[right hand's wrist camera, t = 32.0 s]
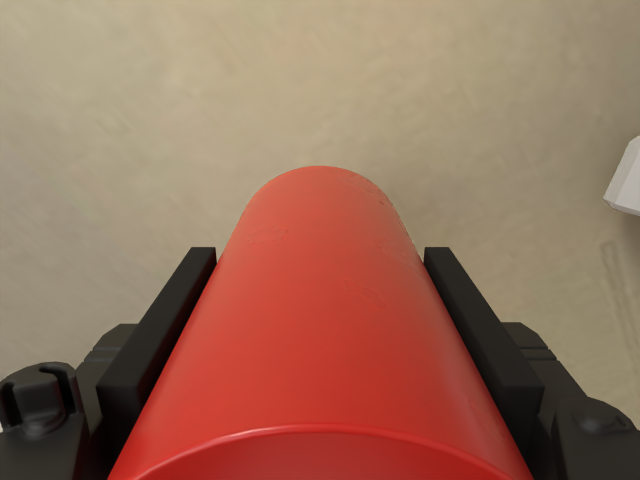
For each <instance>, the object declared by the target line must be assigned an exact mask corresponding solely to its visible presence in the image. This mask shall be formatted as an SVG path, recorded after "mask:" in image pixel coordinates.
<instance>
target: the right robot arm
mask: <svg viewBox="0 0 640 480" xmlns="http://www.w3.org/2000/svg"><path fill="white" fill-rule="evenodd" d="M423 264H424V266H425V268H426V270H427V272H428V274H429V276H430V278H431V280H432V282H433V283H434V285H435V287H436V289H437V291H438V293H439V295H440V297H441V299H442V301H443V303H444V305H445V307H446V309H447V311H448V313H449V315H450V317H451V319H452V321H453V322H454V324H455V326H456V328H457V330H458V332H459V334H460V336H461V338H462V340H463V342H464V344H465V346H466V348H467V350H468V352H469V354H470V356H471V358H472V359H473V361H474V363H475V365H476V367H477V369H478V371H479V373H480V375H481V377H482V379H483V381H484V383H485V385H486V387H487V389H488V391H489V393H490V395H491V396H492V398H493V400H494V402H495V404H496V406H497V408H498V410H499V412H500V414H501V416H502V418H503V420H504V422H505V424H506V426H507V428H508V430H509V432H510V434H511V435H512V437H513V439H514V441H515V443H516V445H517V447H518V449H519V451H520V453H521V455H522V457H523V459H524V461H525V463H526V465H527V467H528V469H529V471H530V472H531V474H532V476H533V478H534V480H640V430H637V429H636V427H635V426H634V424H633V423H632V421H631V420H630V419H629V418H628V417H627V416H626V415H624V414H623V413H622V412H621V411H620V410H618V409H617V408H615V407H613V406H611V405H609V404H607V403H605V402H603V401H600V400H597V399H593V398H590V397H588V396H587V395H586V394H585V393H584V391H583V390H582V389H581V388H580V386H579V385H578V384H577V383H576V381H575V380H574V379H573V378H572V376H571V375H570V374H569V373H568V371H567V370H566V369H565V368H564V366H563V365H562V364H561V363H560V361H557V358H556V356H555V355H554V354H553V353H552V351H551V350H550V349H548V346H547V345H546V344H545V343H544V341H543V340H542V339H541V338H540V336H539V335H538V334H537V333H535V332H534V331H532V330H531V329H529V328H528V327H526V326H525V325H523V324H522V323H520V322H500V320H499V319H498V318H497V316H496V315H495V313H494V312H493V310H492V309H491V307H490V306H489V305H488V303H487V302H486V300H485V299H484V297H483V296H482V294H481V293H480V292H479V290H478V289H477V287H476V286H475V284H474V283H473V282H472V280H471V279H470V277H469V276H468V274H467V273H466V271H465V270H464V269H463V267H462V266H461V264H460V263H459V261H458V260H457V258H456V257H455V256H454V254H453V253H452V251H451V250H450V248H449V247H425V252H424V263H423ZM216 265H217V260H216V249H215V247H191V249H190V250H189V252H188V253H187V255H186V256H185V257H184V259H183V260H182V262H181V263H180V265H179V266H178V268H177V269H176V270H175V272H174V273H173V275H172V276H171V278H170V279H169V280H168V282H167V283H166V285H165V286H164V288H163V289H162V291H161V292H160V293H159V295H158V296H157V298H156V299H155V301H154V302H153V304H152V305H151V306H150V308H149V309H148V311H147V312H146V314H145V315H144V317H143V318H142V319H141V321H140V322H139V324H119V325H118V326H116V327H115V328H113V329H112V330H110V331H109V332H107V333H106V334H104V335H103V336H102V337H101V339H100V340H99V341H98V342H97V344H96V345H95V346H94V347H93V351H90V352H89V354H88V355H87V356H86V358H85V359H84V362H82V363H81V364H80V365H79V366H78V368H77V369H76V370H75V369H74V368H73V367H71V366H70V365H69V364H67V363H61V362H46V363H39V364H36V365H32V366H29V367H25V368H23V369H21V370H19V371H17V372H15V373H13V374H11V375H9V376H8V377H6V378H5V379H4V380H2V381H1V382H0V423H1V426H2V429H3V431H2V432H0V480H107V478H108V476H109V475H110V473H111V471H112V469H113V467H114V465H115V463H116V461H117V459H118V457H119V455H120V453H121V451H122V449H123V447H124V445H125V443H126V441H127V439H128V437H129V435H130V433H131V431H132V429H133V427H134V426H135V424H136V422H137V420H138V418H139V416H140V414H141V412H142V410H143V408H144V406H145V404H146V402H147V400H148V398H149V396H150V394H151V392H152V390H153V388H154V386H155V384H156V382H157V380H158V378H159V377H160V375H161V373H162V371H163V369H164V367H165V365H166V363H167V361H168V359H169V357H170V355H171V353H172V351H173V349H174V347H175V345H176V343H177V341H178V339H179V337H180V335H181V333H182V331H183V329H184V327H185V326H186V324H187V322H188V320H189V318H190V316H191V314H192V312H193V310H194V308H195V306H196V304H197V302H198V300H199V298H200V296H201V294H202V292H203V290H204V288H205V286H206V284H207V282H208V280H209V278H210V277H211V275H212V273H213V271H214V269H215V267H216Z"/></svg>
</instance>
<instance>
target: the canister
mask: <svg viewBox="0 0 640 480" xmlns="http://www.w3.org/2000/svg"><path fill="white" fill-rule="evenodd" d="M107 480H534V478H533V476H532V474H531V472H530V471H529V469H528V467H527V465H526V463H525V461H524V459H523V457H522V455H521V453H520V451H519V449H518V447H517V445H516V443H515V441H514V439H513V437H512V435H511V434H510V432H509V430H508V428H507V426H506V424H505V422H504V420H503V418H502V416H501V414H500V412H499V410H498V408H497V406H496V404H495V402H494V400H493V398H492V396H491V395H490V393H489V391H488V389H487V387H486V385H485V383H484V381H483V379H482V377H481V375H480V373H479V371H478V369H477V367H476V365H475V363H474V361H473V359H472V358H471V356H470V354H469V352H468V350H467V348H466V346H465V344H464V342H463V340H462V338H461V336H460V334H459V332H458V330H457V328H456V326H455V324H454V322H453V321H452V319H451V317H450V315H449V313H448V311H447V309H446V307H445V305H444V303H443V301H442V299H441V297H440V295H439V293H438V291H437V289H436V287H435V285H434V283H433V282H432V280H431V278H430V276H429V274H428V272H427V270H426V268H425V266H424V264H423V262H422V260H421V258H420V256H419V254H418V252H417V250H416V248H415V246H414V245H413V243H412V241H411V239H410V237H409V235H408V233H407V231H406V229H405V227H404V225H403V223H402V221H401V219H400V217H399V215H398V213H397V211H396V210H395V208H394V206H393V204H392V203H391V201H390V200H389V199H388V198H387V196H386V195H385V194H384V193H383V192H382V191H381V190H380V189H379V188H378V187H377V186H376V185H374V184H373V183H372V182H370V181H369V180H368V179H366V178H364V177H362V176H360V175H359V174H356V173H354V172H351V171H349V170H345V169H341V168H337V167H330V166H310V167H303V168H299V169H295V170H292V171H289V172H286V173H284V174H282V175H279V176H278V177H276V178H274V179H273V180H271V181H269V182H268V183H267V184H266V185H264V186H263V187H262V188H261V189H260V190H259V191H258V192H257V193H256V194H255V195H254V196H253V197H252V199H251V200H250V202H249V203H248V204H247V206H246V208H245V210H244V212H243V214H242V216H241V218H240V220H239V222H238V224H237V226H236V227H235V229H234V231H233V233H232V235H231V237H230V239H229V241H228V243H227V245H226V247H225V249H224V251H223V253H222V255H221V257H220V259H219V261H218V263H217V265H216V267H215V269H214V271H213V273H212V275H211V277H210V278H209V280H208V282H207V284H206V286H205V288H204V290H203V292H202V294H201V296H200V298H199V300H198V302H197V304H196V306H195V308H194V310H193V312H192V314H191V316H190V318H189V320H188V322H187V324H186V326H185V327H184V329H183V331H182V333H181V335H180V337H179V339H178V341H177V343H176V345H175V347H174V349H173V351H172V353H171V355H170V357H169V359H168V361H167V363H166V365H165V367H164V369H163V371H162V373H161V375H160V377H159V378H158V380H157V382H156V384H155V386H154V388H153V390H152V392H151V394H150V396H149V398H148V400H147V402H146V404H145V406H144V408H143V410H142V412H141V414H140V416H139V418H138V420H137V422H136V424H135V426H134V427H133V429H132V431H131V433H130V435H129V437H128V439H127V441H126V443H125V445H124V447H123V449H122V451H121V453H120V455H119V457H118V459H117V461H116V463H115V465H114V467H113V469H112V471H111V473H110V475H109V476H108V478H107Z"/></svg>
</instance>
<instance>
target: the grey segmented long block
mask: <svg viewBox="0 0 640 480" xmlns="http://www.w3.org/2000/svg"><path fill="white" fill-rule="evenodd" d="M603 199H604V200H605V201H606V202H607V203H608V204H609V206H611V207H612V208H614V209H616V210H617V211H621V212H625V213H629V214H633V215H637V216H640V135H639V136H637V137H636V138H634V139H633V140H631V141H630V142H629V144H628V146H627V148H626V150H625V152H624V155H623V157H622V159H621V161H620V163H619V165H618V167H617V169H616V172H615V174H614V176H613V178H612V180H611V182H610V184H609V186H608V189H607V191H606V193H605V195H604V197H603Z"/></svg>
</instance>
